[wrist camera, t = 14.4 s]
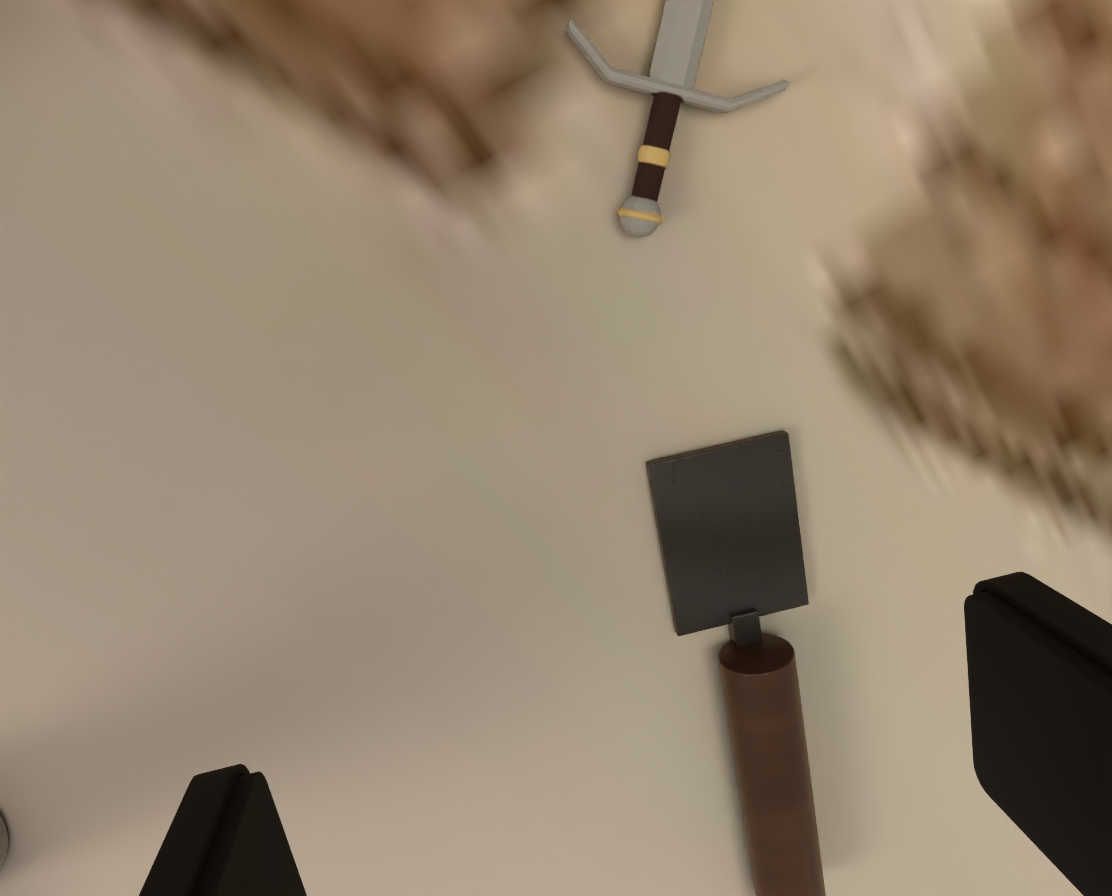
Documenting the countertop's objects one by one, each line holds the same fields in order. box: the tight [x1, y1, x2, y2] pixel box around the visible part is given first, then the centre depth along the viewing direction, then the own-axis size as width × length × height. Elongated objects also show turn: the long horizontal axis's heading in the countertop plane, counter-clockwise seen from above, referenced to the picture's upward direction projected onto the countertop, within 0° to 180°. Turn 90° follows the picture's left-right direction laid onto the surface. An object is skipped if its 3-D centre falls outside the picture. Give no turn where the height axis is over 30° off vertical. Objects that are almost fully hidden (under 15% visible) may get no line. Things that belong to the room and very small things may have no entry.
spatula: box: [646, 431, 826, 896], centre depth 36 cm, size 23×6×3 cm, turn 11°
